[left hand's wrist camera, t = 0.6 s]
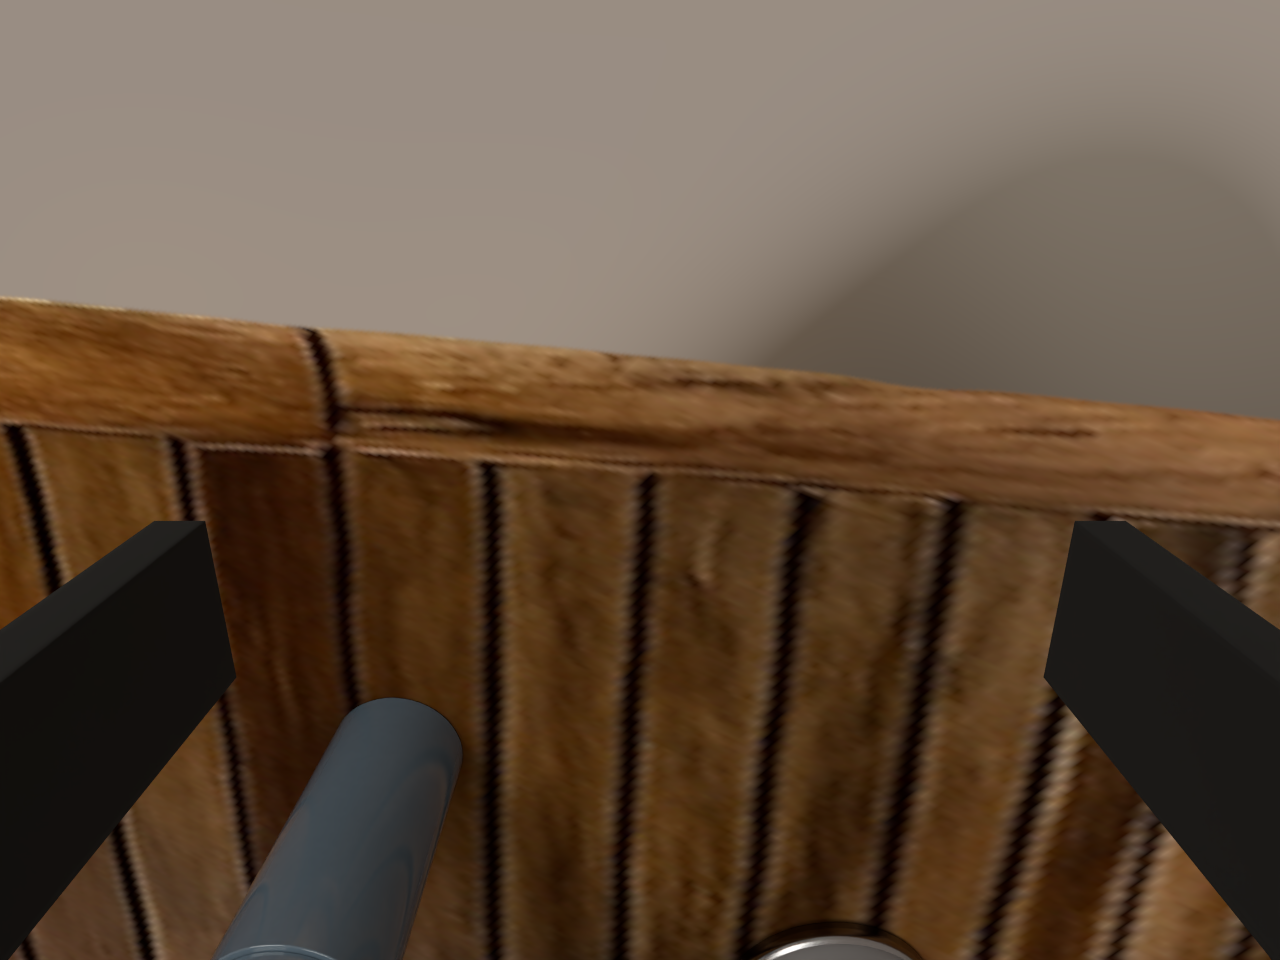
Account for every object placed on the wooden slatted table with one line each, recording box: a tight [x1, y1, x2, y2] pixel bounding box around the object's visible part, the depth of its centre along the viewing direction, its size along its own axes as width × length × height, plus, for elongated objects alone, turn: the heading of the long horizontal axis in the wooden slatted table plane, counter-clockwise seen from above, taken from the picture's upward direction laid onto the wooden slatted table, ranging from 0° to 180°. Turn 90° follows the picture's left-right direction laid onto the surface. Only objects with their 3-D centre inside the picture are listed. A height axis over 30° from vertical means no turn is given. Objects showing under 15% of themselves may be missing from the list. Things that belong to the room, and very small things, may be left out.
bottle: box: [211, 698, 463, 960], centre depth 40 cm, size 8×8×23 cm
